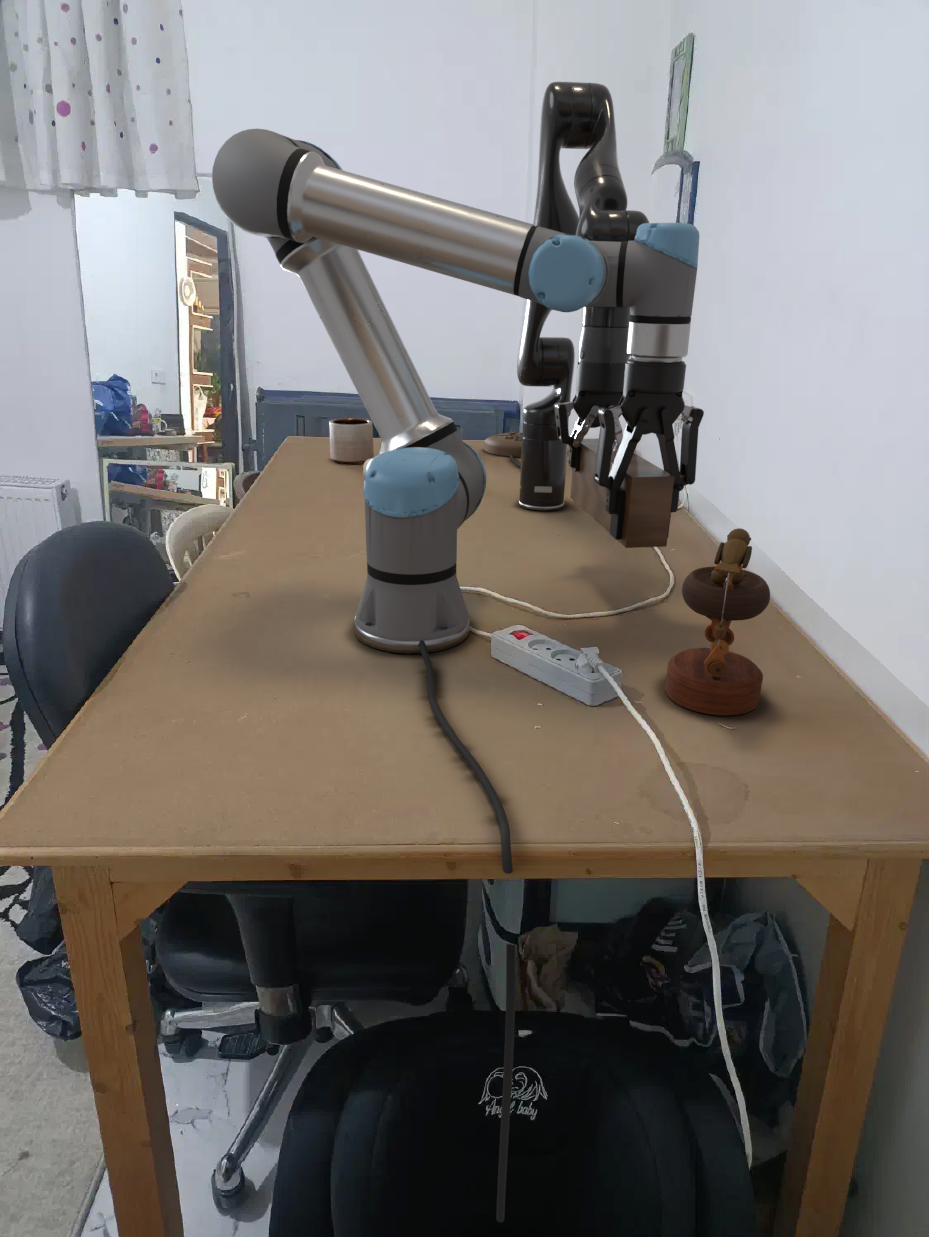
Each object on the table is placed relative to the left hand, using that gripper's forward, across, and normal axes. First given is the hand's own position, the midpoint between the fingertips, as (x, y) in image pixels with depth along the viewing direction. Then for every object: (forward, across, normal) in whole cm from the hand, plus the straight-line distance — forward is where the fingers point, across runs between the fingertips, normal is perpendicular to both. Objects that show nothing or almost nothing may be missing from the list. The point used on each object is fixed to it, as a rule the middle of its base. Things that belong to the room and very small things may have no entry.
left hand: (638, 535), depth 115 cm
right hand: (-4, 0, -21) cm, 21 cm away
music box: (+12, -1, +24) cm, 26 cm away
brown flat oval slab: (+12, -11, -112) cm, 113 cm away
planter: (+12, +35, -110) cm, 116 cm away
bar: (+1, 0, -10) cm, 11 cm away
